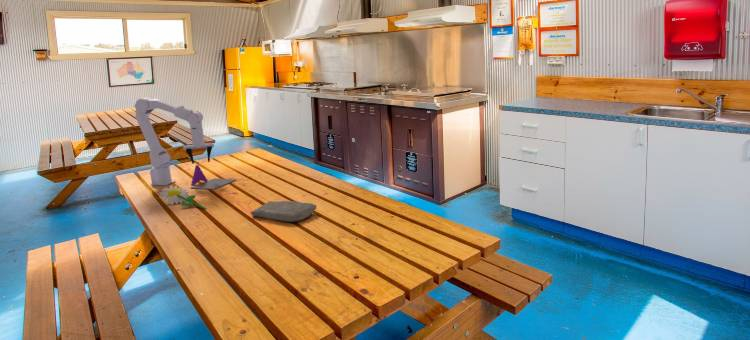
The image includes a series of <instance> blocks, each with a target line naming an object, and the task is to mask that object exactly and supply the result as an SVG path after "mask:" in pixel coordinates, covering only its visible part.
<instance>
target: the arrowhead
mask: <svg viewBox="0 0 750 340" xmlns="http://www.w3.org/2000/svg"><path fill="white" fill-rule="evenodd" d="M192 175H193V176H192V180H191V184H190V186H191V187H194V186H196V185H197V184H198V183H199V182H200V181H203V182H206V181H209V180H208V179H207V177H206V175H205V174H204V172H203V171H202V169H201V167H200V166H199V164H196V165H195V167H194V172H193V174H192Z"/></svg>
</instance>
